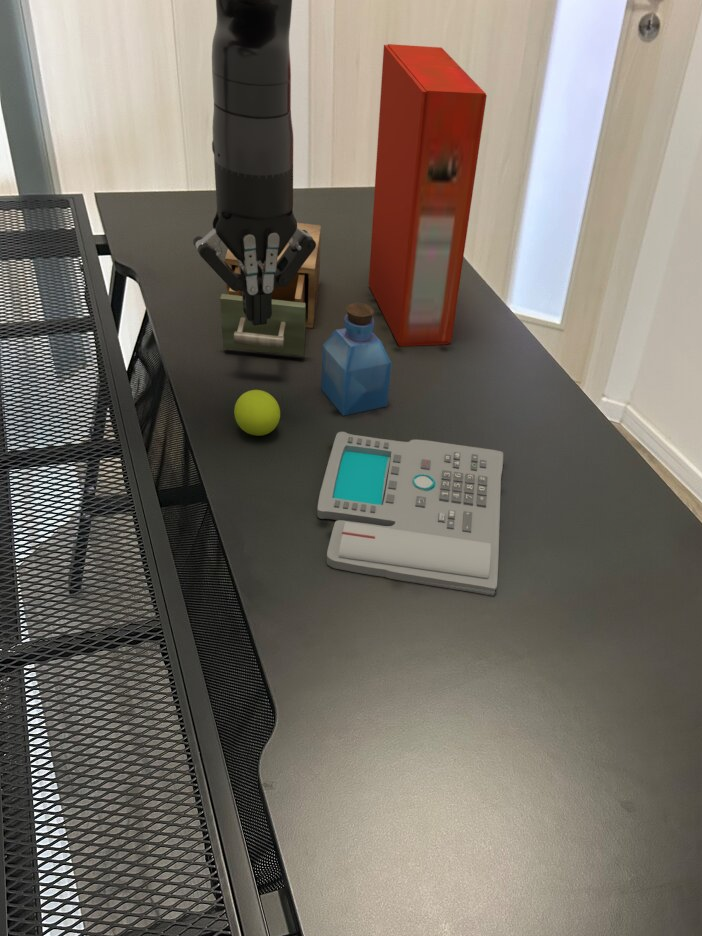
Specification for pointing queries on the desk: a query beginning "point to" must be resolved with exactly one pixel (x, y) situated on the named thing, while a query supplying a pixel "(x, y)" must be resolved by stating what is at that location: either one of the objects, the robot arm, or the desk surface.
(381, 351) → the perfume bottle
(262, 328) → the drawer
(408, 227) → the file binder
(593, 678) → the desk surface
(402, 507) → the office telephone
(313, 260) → the cabinet
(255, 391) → the ball
